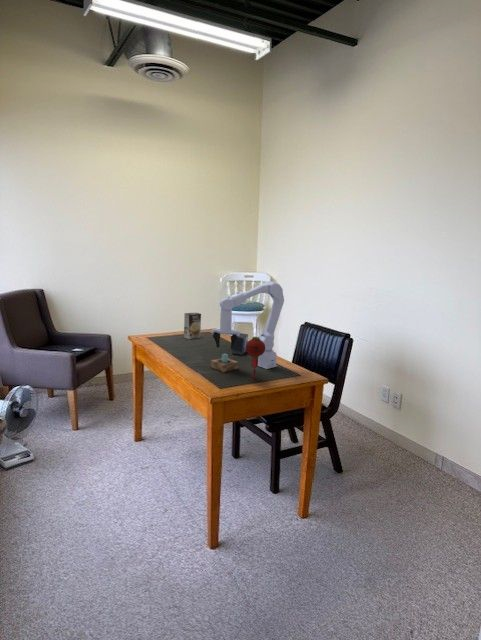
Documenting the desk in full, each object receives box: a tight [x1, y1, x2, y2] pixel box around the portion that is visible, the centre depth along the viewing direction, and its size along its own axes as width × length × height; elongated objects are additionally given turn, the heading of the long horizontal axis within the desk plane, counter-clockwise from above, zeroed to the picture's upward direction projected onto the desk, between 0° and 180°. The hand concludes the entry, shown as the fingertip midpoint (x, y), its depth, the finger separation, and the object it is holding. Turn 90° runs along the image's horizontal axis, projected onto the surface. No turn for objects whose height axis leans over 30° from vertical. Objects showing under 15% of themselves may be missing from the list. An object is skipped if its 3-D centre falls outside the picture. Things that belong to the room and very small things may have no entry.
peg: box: [221, 353, 229, 363], centre depth 216 cm, size 3×3×7 cm
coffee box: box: [183, 312, 202, 340], centre depth 276 cm, size 9×6×16 cm
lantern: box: [246, 320, 265, 380], centre depth 199 cm, size 10×10×30 cm
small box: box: [231, 332, 249, 356], centre depth 245 cm, size 11×6×10 cm, turn 162°
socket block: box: [210, 357, 239, 373], centre depth 216 cm, size 10×10×4 cm
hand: (225, 348), depth 217 cm, fingers open, 7 cm apart
